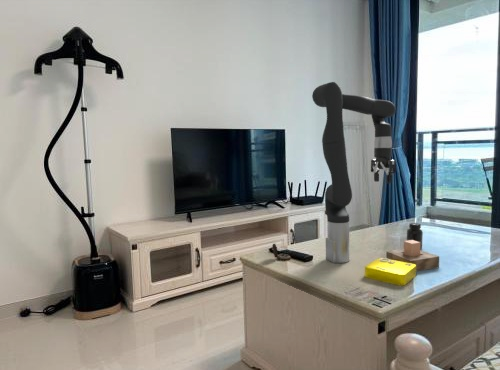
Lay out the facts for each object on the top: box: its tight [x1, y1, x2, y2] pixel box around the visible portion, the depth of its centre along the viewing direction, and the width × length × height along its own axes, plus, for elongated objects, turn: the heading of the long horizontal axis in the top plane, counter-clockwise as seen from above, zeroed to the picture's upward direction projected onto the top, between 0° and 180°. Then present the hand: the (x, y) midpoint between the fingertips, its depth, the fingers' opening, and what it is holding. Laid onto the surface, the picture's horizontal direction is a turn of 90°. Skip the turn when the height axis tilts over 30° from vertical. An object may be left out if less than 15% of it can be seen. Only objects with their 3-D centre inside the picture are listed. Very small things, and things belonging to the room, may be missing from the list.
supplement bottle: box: [406, 222, 424, 250], centre depth 167 cm, size 7×7×12 cm
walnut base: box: [385, 248, 440, 272], centre depth 146 cm, size 14×14×4 cm
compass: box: [272, 243, 292, 262], centre depth 159 cm, size 8×8×7 cm
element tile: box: [364, 257, 417, 286], centre depth 134 cm, size 15×15×5 cm
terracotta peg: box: [403, 240, 420, 257], centre depth 146 cm, size 4×4×8 cm
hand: (382, 182), depth 163 cm, fingers open, 8 cm apart
